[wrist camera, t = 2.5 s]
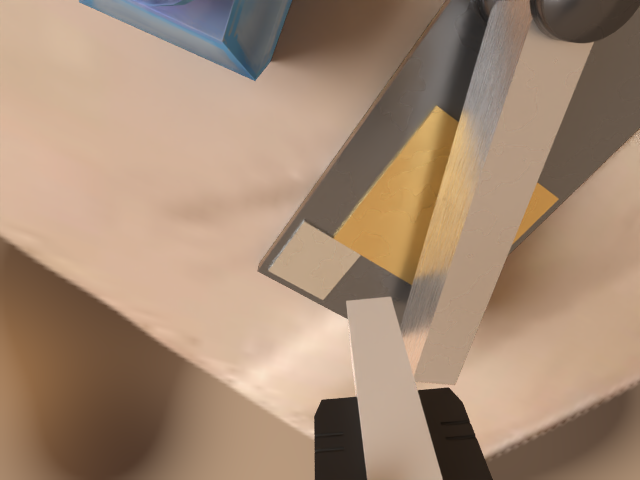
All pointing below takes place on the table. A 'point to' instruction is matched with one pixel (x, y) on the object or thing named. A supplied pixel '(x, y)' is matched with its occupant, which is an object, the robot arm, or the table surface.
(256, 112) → the table surface
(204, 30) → the perfume bottle
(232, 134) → the table surface
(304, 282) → the tray
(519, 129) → the swing arm
